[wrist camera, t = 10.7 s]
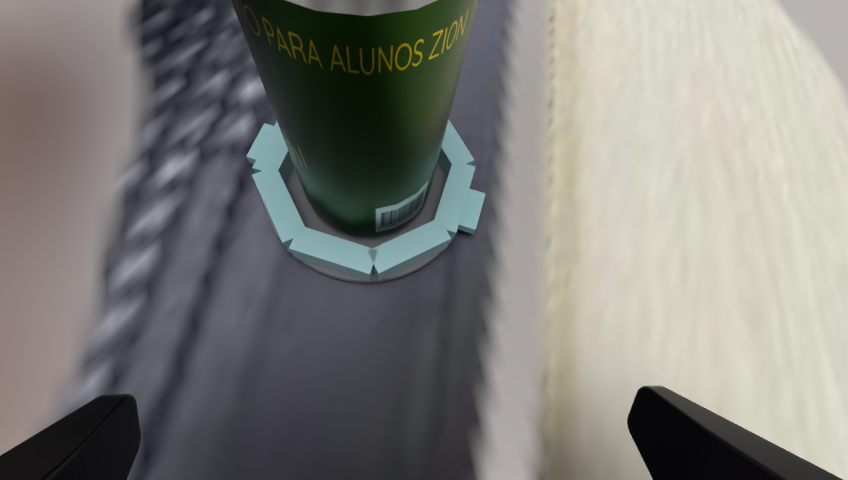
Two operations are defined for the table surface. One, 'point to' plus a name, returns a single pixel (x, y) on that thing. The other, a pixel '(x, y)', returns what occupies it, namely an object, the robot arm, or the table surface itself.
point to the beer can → (361, 98)
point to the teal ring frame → (359, 253)
